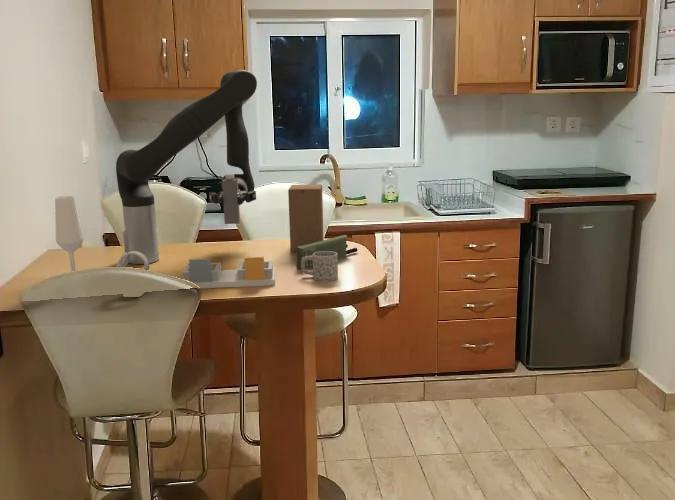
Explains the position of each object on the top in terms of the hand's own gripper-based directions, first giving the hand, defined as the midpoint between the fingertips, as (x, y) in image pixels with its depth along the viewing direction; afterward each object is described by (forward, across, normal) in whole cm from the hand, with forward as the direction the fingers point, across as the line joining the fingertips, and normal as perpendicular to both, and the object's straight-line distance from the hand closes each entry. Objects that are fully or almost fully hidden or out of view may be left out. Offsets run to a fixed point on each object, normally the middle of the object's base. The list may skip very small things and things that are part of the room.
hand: (230, 201), depth 186 cm
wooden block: (-24, +22, +20) cm, 38 cm away
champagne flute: (+11, -41, +20) cm, 47 cm away
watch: (+19, -24, +20) cm, 37 cm away
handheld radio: (-8, +27, +20) cm, 35 cm away
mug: (+11, +23, +20) cm, 33 cm away
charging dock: (+10, -1, +20) cm, 22 cm away
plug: (-3, 0, +6) cm, 7 cm away
